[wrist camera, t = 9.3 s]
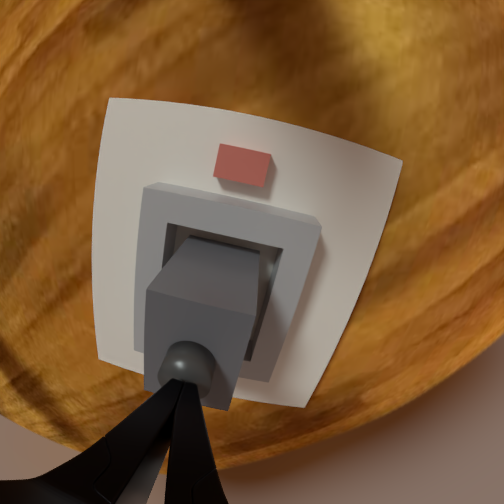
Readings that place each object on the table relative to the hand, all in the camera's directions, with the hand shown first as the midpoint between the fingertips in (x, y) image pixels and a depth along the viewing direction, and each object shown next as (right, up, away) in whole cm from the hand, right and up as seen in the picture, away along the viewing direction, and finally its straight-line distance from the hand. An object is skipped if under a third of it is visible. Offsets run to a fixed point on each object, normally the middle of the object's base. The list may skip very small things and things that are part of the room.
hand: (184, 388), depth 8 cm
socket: (0, +3, +9) cm, 9 cm away
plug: (0, +3, +8) cm, 8 cm away
